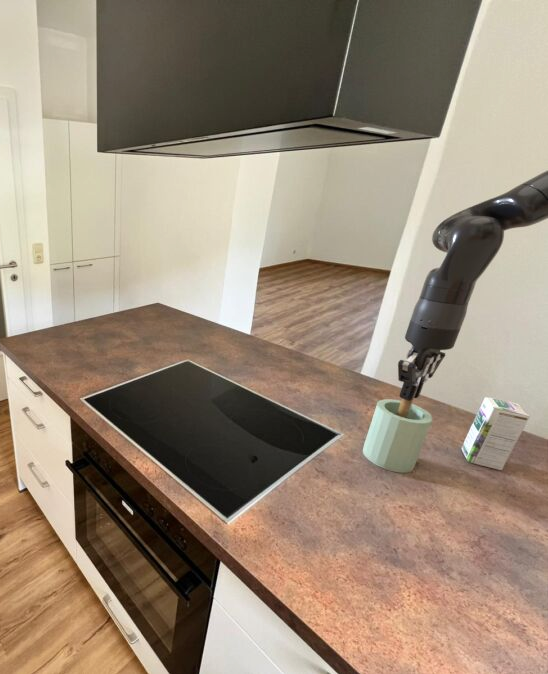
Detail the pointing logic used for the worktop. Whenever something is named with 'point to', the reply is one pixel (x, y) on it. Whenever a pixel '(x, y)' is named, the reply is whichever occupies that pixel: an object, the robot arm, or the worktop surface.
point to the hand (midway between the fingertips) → (408, 397)
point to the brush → (405, 407)
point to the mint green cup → (396, 436)
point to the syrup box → (494, 433)
